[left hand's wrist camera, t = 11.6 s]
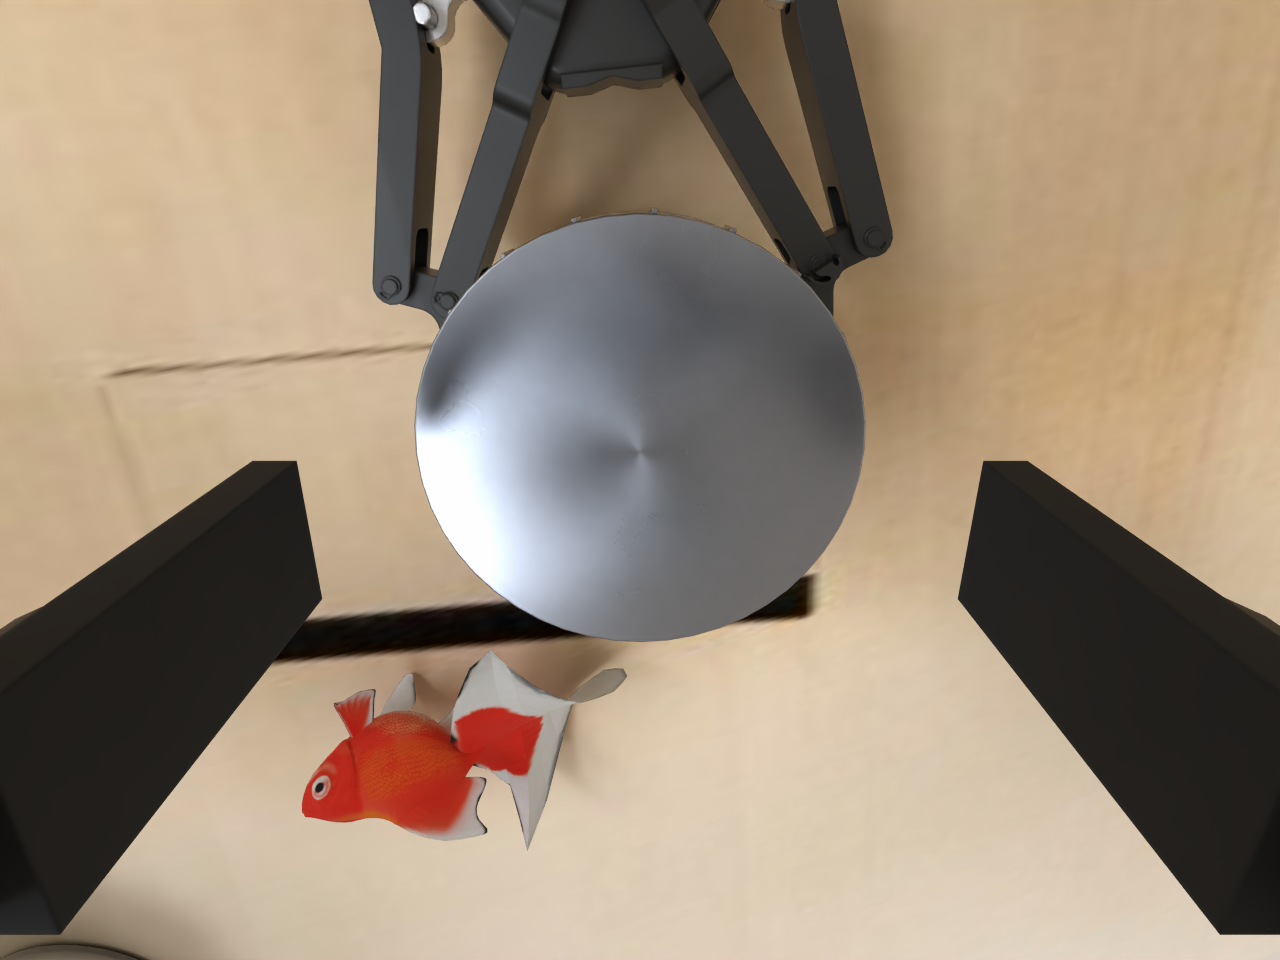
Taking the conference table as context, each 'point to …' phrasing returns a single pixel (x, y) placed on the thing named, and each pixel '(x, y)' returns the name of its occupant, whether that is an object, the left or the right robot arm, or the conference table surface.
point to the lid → (640, 426)
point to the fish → (447, 753)
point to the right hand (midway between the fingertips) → (651, 471)
